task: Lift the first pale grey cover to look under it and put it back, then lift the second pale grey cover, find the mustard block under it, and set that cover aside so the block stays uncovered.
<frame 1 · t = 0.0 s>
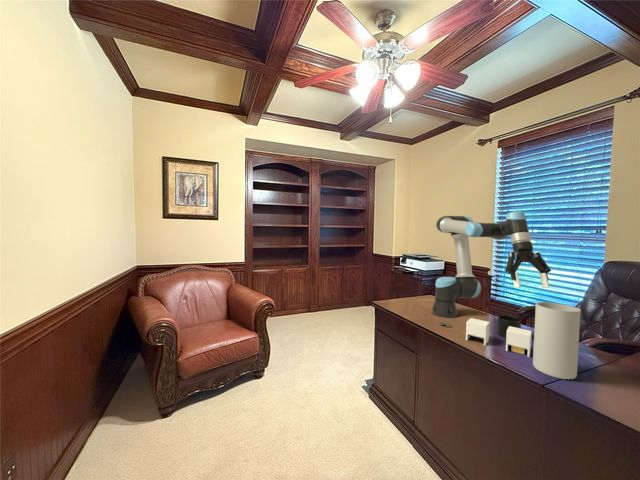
hand: (532, 287, 119), 28 cm above the table, tool tilted 20°, fingers open, 13 cm apart
block: (518, 351, 117), on the table
cover a: (477, 340, 127), on the table
cover b: (518, 350, 117), on the table
cylinder vase: (553, 371, 100), on the table
mug: (510, 335, 134), on the table
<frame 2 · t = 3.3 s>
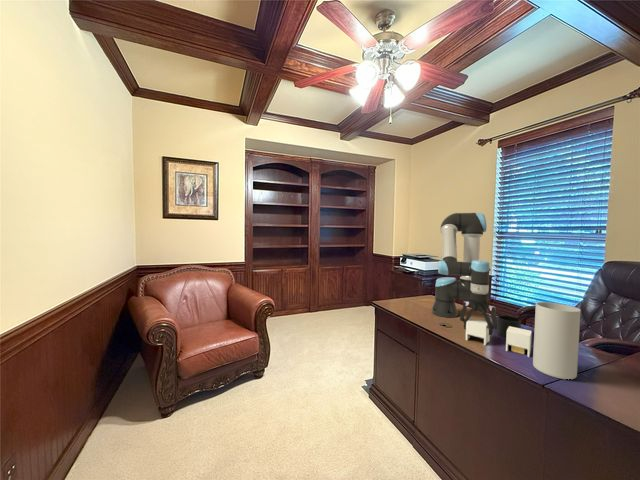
hand: (477, 338, 127), 1 cm above the table, tool pointing down, fingers closed on cover a, 8 cm apart
cover a: (477, 340, 127), on the table, touching gripper
everything else where it was.
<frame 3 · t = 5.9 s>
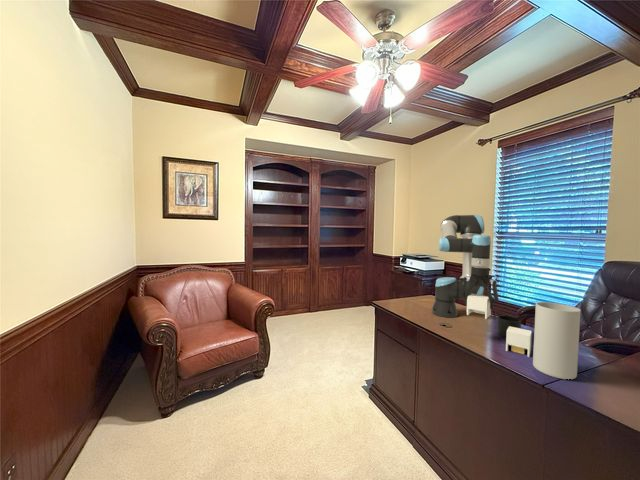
hand: (478, 313, 127), 13 cm above the table, tool pointing down, fingers closed on cover a, 8 cm apart
cover a: (478, 314, 127), point 12 cm above the table, touching gripper
everything else where it was.
when the fingers open (2 cm above the table, at t = 8.7 s): cover a drops 1 cm, on the table.
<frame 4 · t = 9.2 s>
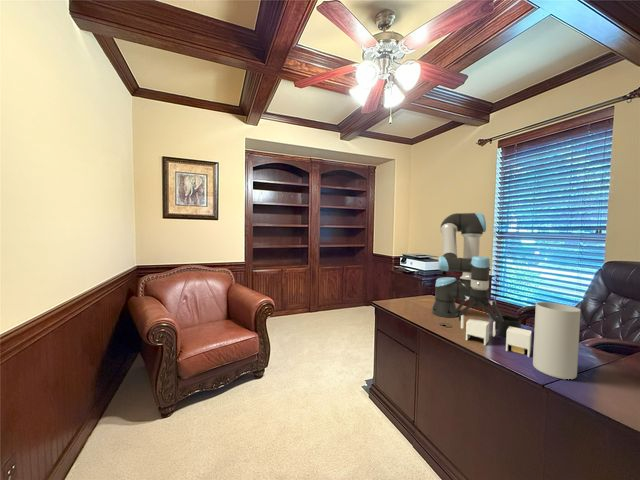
hand: (477, 331, 127), 4 cm above the table, tool pointing down, fingers open, 13 cm apart
cover a: (477, 340, 127), on the table
everything else where it was.
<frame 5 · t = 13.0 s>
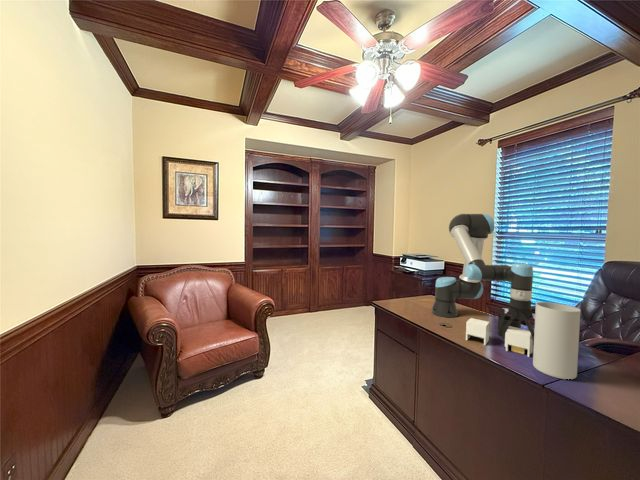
hand: (518, 349, 117), 1 cm above the table, tool pointing down, fingers closed on cover b, 8 cm apart
cover b: (518, 350, 117), on the table, touching gripper
everything else where it was.
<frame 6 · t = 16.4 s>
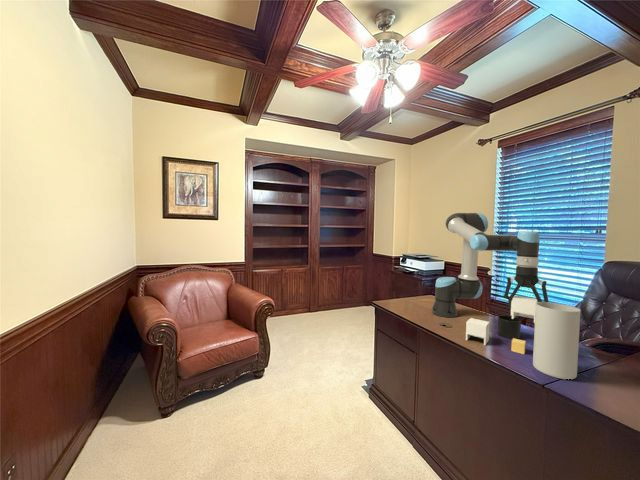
hand: (524, 316, 116), 15 cm above the table, tool pointing down, fingers closed on cover b, 8 cm apart
cover b: (524, 318, 116), point 15 cm above the table, touching gripper
everything else where it was.
when the fingers open (2 cm above the table, at t = 20.1 s): cover b drops 1 cm, on the table.
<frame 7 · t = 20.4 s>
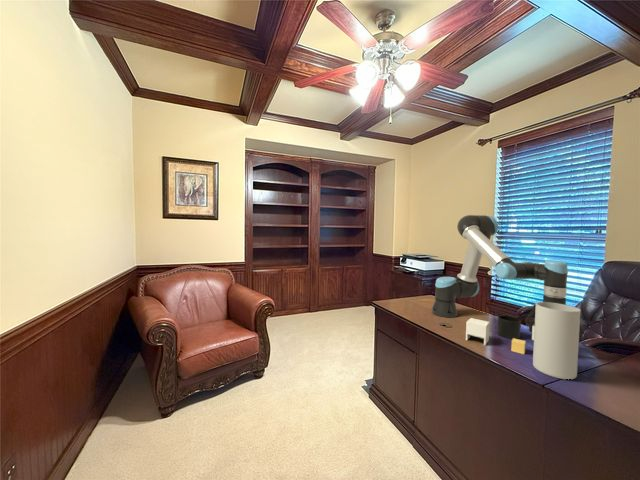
hand: (552, 343, 116), 4 cm above the table, tool pointing down, fingers open, 12 cm apart
cover b: (551, 351, 116), on the table
everything else where it was.
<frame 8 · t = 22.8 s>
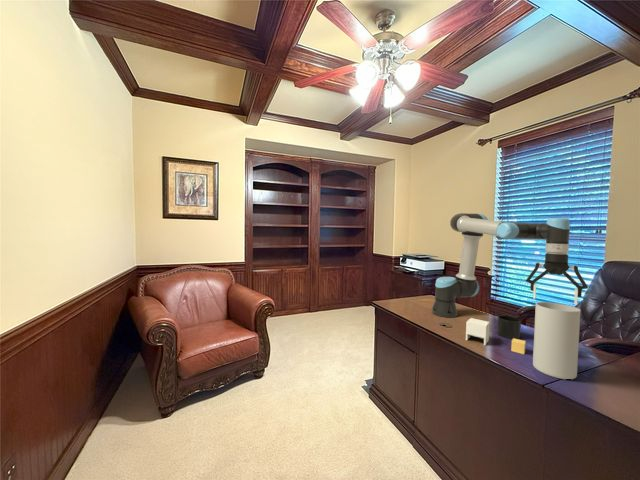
hand: (554, 301, 116), 23 cm above the table, tool pointing down, fingers open, 13 cm apart
nothing on the table moved.
at the end: cover b inside the target area (0.0 cm from its centre), on the table; block moved 0.1 cm from its start; cover a moved 0.0 cm from its start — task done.
